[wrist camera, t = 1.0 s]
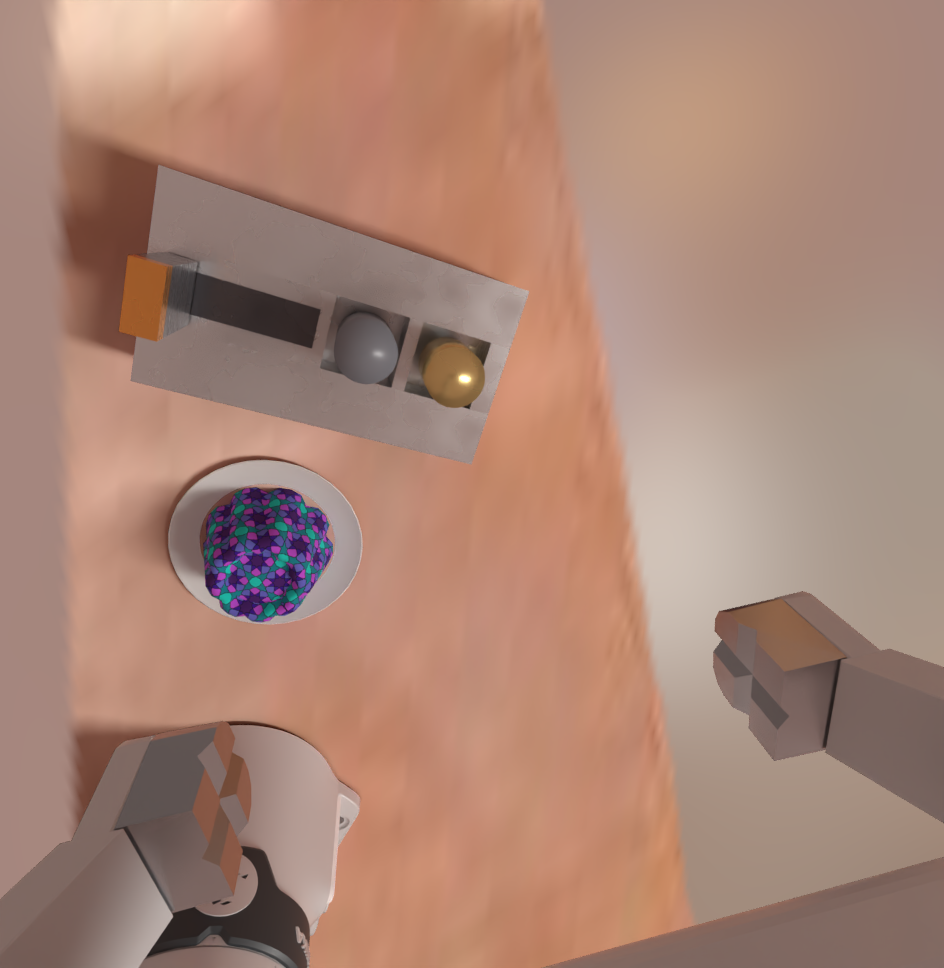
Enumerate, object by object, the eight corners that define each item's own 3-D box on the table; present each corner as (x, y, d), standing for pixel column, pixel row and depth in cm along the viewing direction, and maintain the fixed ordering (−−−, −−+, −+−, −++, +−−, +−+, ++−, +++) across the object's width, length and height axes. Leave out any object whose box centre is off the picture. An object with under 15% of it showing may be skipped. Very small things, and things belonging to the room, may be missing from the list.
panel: (458, 440, 38) (471, 464, 34) (158, 363, 33) (129, 381, 29) (508, 285, 35) (529, 291, 31) (184, 174, 30) (157, 164, 26)
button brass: (463, 397, 33) (474, 414, 30) (411, 383, 33) (417, 399, 29) (479, 345, 32) (493, 357, 29) (427, 329, 32) (435, 340, 28)
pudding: (261, 647, 42) (250, 699, 37) (128, 530, 37) (94, 573, 32) (398, 551, 41) (403, 593, 36) (279, 418, 36) (268, 446, 31)
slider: (188, 324, 29) (156, 341, 24) (156, 316, 28) (118, 331, 24) (198, 261, 28) (167, 266, 23) (165, 251, 27) (127, 254, 23)
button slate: (385, 375, 32) (388, 391, 29) (329, 360, 31) (327, 374, 28) (400, 321, 31) (405, 331, 28) (343, 304, 30) (342, 312, 27)
